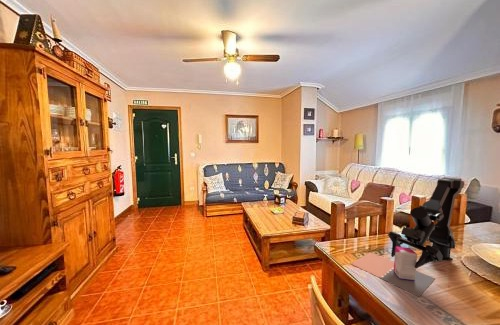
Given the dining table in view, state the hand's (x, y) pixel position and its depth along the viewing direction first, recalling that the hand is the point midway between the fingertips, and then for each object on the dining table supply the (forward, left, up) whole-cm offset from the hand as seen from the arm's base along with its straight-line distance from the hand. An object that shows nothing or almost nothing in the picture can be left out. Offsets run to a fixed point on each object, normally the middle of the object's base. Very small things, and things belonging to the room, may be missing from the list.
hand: (403, 261), depth 89 cm
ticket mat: (+2, -4, -7) cm, 8 cm away
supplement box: (-1, 0, -7) cm, 7 cm away
